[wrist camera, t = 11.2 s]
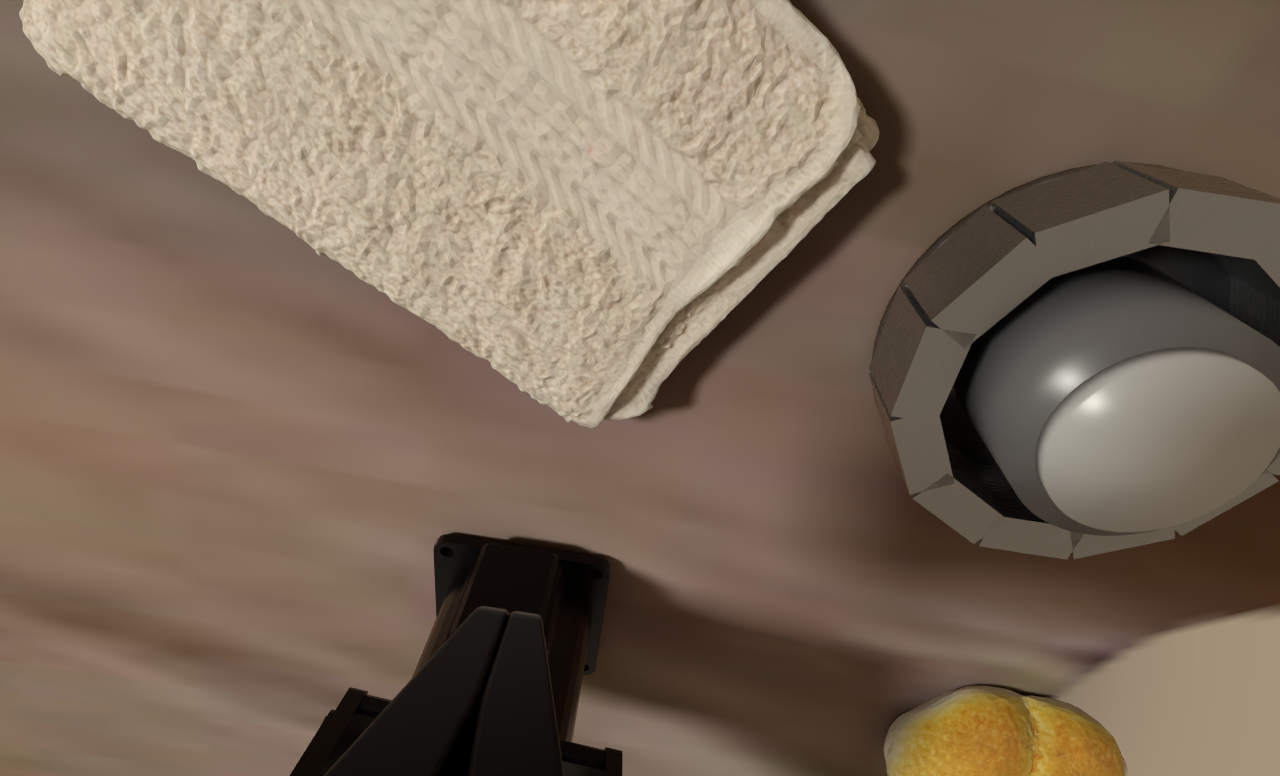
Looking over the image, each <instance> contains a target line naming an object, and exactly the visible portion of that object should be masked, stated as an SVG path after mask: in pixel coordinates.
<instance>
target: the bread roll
mask: <svg viewBox="0 0 1280 776" xmlns="http://www.w3.org/2000/svg"><path fill="white" fill-rule="evenodd" d="M883 750H884V756H885V761H886V770H887V775H888V776H1127V766H1126V763H1125V761H1124V758H1123V757H1122V755H1121V752H1120V750H1119V748H1118V746H1117V743H1116V741H1115V739H1114V738H1113V736H1112V735H1111V734H1110V733H1109V732H1108V731H1107V730H1106V729H1105V728H1104V727H1103V726H1102V725H1101V724H1100V723H1099V722H1098V721H1096V720H1095V719H1093V718H1092V717H1091V716H1089V715H1088V714H1087V713H1085V712H1084V711H1082V710H1081V709H1079V708H1078V707H1075V706H1073V705H1071V704H1069V703H1065V702H1062V701H1058V700H1055V699H1051V698H1047V697H1037V696H1032V695H1030V696H1023V695H1020V694H1018V693H1016V692H1014V691H1011V690H1008V689H1004V688H999V687H992V686H966V687H962V688H960V689H957V690H952V691H949V692H946V693H944V694H942V695H940V696H937V697H935V698H933V699H931V700H929V701H927V702H925V703H923V704H921V705H919V706H917V707H915V708H913V709H911V710H910V711H908V712H906V713H904V714H902V715H900V716H899V717H898V718H897V719H896V720H895V721H894V723H893V724H892V725H891V727H890V728H889V730H888V733H887V736H886V739H885V743H884V748H883Z"/></svg>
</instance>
